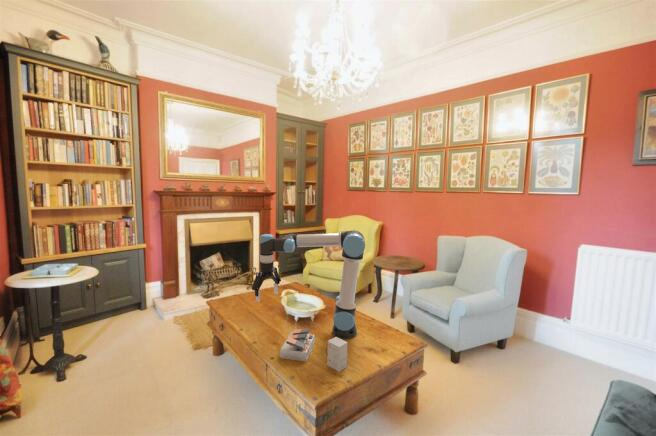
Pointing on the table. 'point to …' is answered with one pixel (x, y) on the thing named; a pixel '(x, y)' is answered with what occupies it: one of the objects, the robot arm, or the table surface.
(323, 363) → the table surface
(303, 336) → the rocker
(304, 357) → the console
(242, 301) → the table surface
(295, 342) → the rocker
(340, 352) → the small box
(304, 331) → the rocker
